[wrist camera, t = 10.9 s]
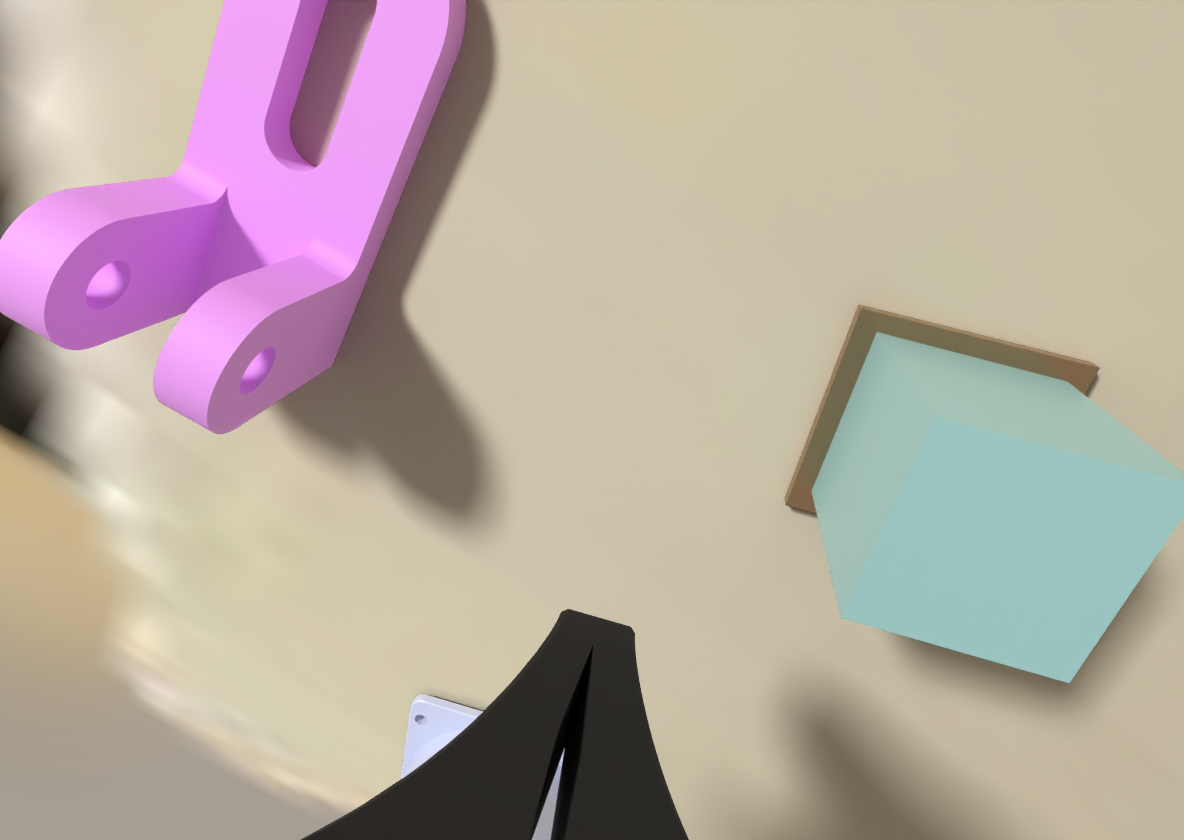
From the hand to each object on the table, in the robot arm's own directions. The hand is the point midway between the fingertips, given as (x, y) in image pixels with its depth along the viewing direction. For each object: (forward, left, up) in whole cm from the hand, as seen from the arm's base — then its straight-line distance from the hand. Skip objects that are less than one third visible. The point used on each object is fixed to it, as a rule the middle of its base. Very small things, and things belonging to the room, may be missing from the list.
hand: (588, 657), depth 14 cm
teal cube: (+3, -8, -10) cm, 13 cm away
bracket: (+7, +11, -10) cm, 17 cm away
